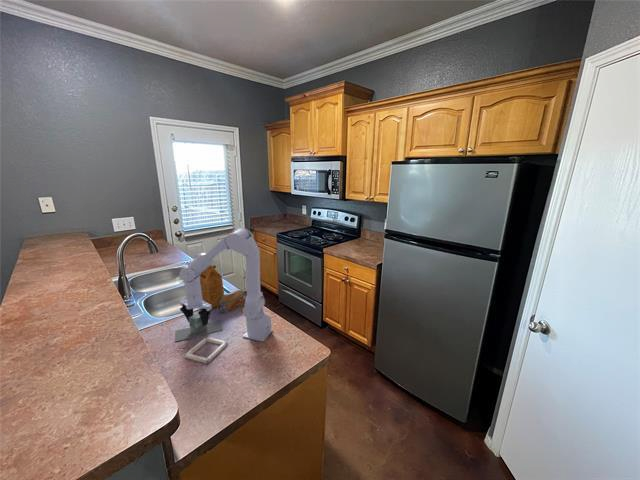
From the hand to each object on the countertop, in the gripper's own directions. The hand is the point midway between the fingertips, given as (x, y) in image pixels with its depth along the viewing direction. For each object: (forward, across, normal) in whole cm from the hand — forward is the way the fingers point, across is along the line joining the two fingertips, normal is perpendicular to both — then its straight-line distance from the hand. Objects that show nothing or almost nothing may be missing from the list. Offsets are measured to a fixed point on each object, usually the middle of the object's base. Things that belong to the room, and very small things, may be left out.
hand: (198, 322), depth 109 cm
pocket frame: (+4, +12, -9) cm, 15 cm away
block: (+3, 0, 0) cm, 4 cm away
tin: (+4, +2, +20) cm, 21 cm away
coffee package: (+4, -11, +21) cm, 24 cm away
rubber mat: (+4, 0, 0) cm, 4 cm away
